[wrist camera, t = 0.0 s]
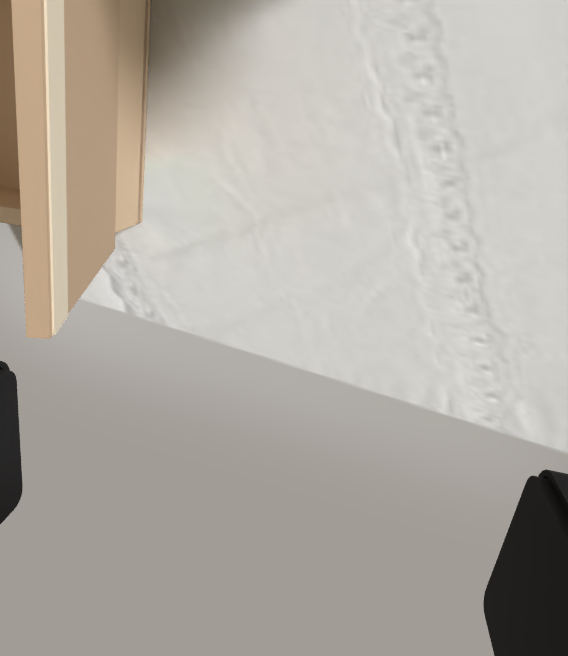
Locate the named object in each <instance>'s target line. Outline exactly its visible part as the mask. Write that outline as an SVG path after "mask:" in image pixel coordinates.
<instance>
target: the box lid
mask: <svg viewBox="0 0 568 656" xmlns="http://www.w3.org/2000/svg"><path fill="white" fill-rule="evenodd" d="M11 6H12V28H13V50H14V72H15V94H16V116H17V138H18V160H19V182H20V204H21V226H22V248H23V270H24V292H25V314H26V334H27V335H26V336H27V337H30V338H44V339H50V338H51V337H52V335H53V336H55V334H56V333H57V332H58V330H59V329H60V327H61V326H62V325H63V323H64V322H65V320H66V319H67V318H68V313H69V312H70V310H71V309H72V308H73V306H74V305H75V303H76V302H77V301H78V299H79V298H80V296H81V295H82V294H83V292H84V291H85V290H86V288H87V287H88V285H89V284H90V283H91V281H92V280H93V278H94V277H95V276H96V274H97V273H98V271H99V270H100V269H101V267H102V266H103V264H104V263H105V262H106V260H107V259H108V258H109V256H110V255H111V253H112V252H113V251H114V249H115V220H116V172H117V123H118V75H119V26H120V0H11Z"/></svg>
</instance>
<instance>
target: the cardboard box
mask: <svg viewBox="0 0 568 656" xmlns="http://www.w3.org/2000/svg"><path fill="white" fill-rule="evenodd" d="M150 9H151V0H120V26H119V75H118V123H117V172H116V220H115V233H117V232H119V231H121V230H124V229H126V228H128V227H131V226H133V225H136V224H138V223H140V222H142V212H143V187H144V161H145V136H146V110H147V85H148V60H149V34H150ZM0 222H2V223H8V224H14V225H19V226H21V204H20V182H19V160H18V138H17V116H16V94H15V72H14V50H13V28H12V6H11V0H0Z"/></svg>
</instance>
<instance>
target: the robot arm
mask: <svg viewBox="0 0 568 656" xmlns="http://www.w3.org/2000/svg"><path fill="white" fill-rule="evenodd" d="M17 399H18V398H17V381H16V376H15V374H14V373H13V372H12V371H10V370H9V367H8V365H7V364H6V363H5V362H2V361H0V524H1V523H2V522H3V521H4V520H5V519H6V518H7V516H8V515H9V514H10V513H11V512H12V511H13V510H14V509H15V507H16V506H17V504H18V503H19V500H20V498H21V494H22V472H21V456H20V455H21V453H20V437H19V436H20V435H19V418H18V400H17ZM484 613H485V618H486V622H487V626H488V630H489V635H490V638H491V643H492V647H493V651H494V655H495V656H568V474H565V473H560V472H555V471H550V470H544V471H542V472H541V473H540V474H539V476H538V477H537V476H531V477H530V478H529V479H528V480H527V482H526V485H525V487H524V490H523V492H522V495H521V498H520V501H519V503H518V506H517V508H516V511H515V514H514V516H513V519H512V521H511V524H510V527H509V529H508V532H507V535H506V538H505V540H504V543H503V545H502V548H501V551H500V553H499V556H498V559H497V561H496V564H495V567H494V570H493V572H492V575H491V577H490V580H489V582H488V585H487V588H486V591H485V595H484Z"/></svg>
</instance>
